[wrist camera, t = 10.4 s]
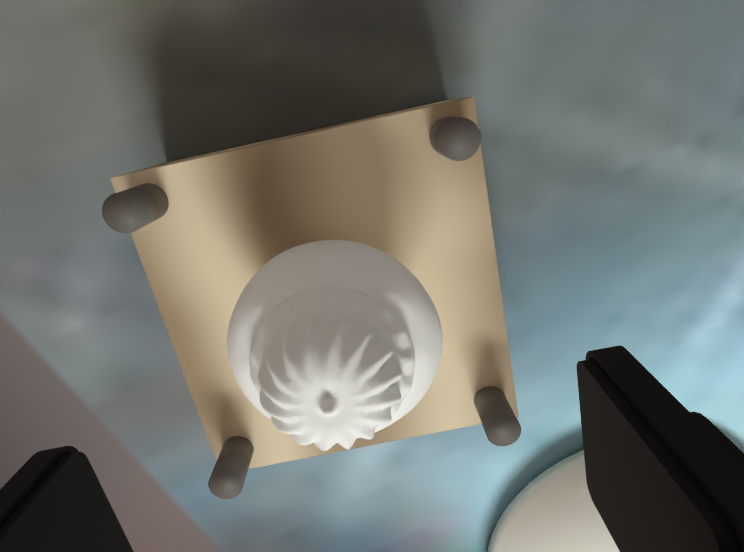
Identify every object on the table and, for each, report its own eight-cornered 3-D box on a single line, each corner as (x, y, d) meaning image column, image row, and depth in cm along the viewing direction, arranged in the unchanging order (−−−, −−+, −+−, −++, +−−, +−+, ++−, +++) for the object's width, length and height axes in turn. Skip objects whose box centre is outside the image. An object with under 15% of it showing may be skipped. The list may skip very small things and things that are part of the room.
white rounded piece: (266, 383, 19) (215, 532, 12) (239, 223, 17) (161, 297, 10) (430, 369, 19) (469, 511, 12) (422, 207, 17) (463, 271, 10)
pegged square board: (447, 99, 20) (489, 95, 14) (487, 356, 24) (535, 449, 18) (166, 162, 21) (77, 186, 14) (247, 404, 25) (206, 512, 18)
